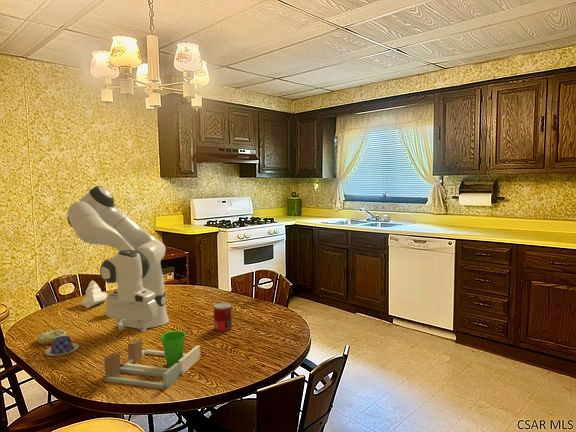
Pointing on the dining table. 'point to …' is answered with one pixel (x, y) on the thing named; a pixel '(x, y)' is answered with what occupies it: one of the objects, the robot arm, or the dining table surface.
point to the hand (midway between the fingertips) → (132, 330)
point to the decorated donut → (50, 336)
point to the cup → (173, 346)
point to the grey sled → (114, 369)
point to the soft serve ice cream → (93, 295)
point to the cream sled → (137, 353)
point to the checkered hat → (61, 346)
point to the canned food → (222, 317)
